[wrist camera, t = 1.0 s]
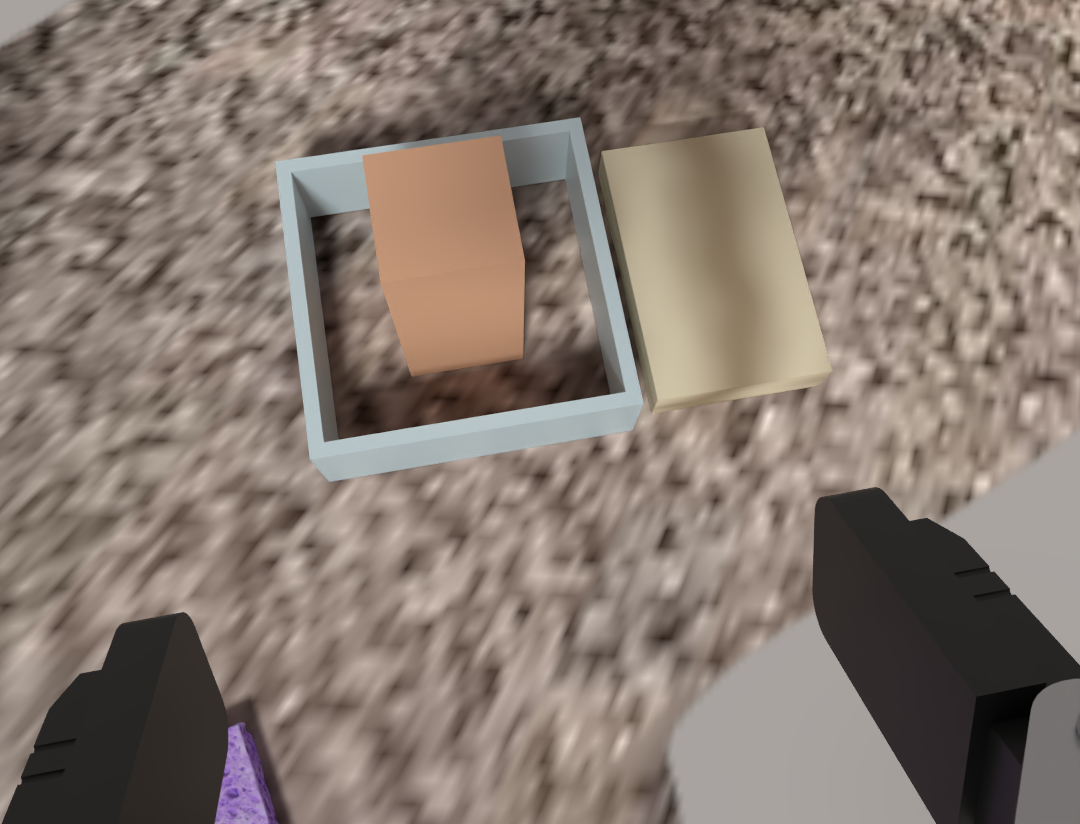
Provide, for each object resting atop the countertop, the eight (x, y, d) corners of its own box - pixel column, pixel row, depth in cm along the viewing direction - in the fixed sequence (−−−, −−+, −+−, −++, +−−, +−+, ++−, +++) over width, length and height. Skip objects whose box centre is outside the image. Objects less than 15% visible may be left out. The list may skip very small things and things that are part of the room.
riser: (651, 413, 42) (657, 400, 40) (598, 174, 45) (601, 151, 43) (818, 385, 42) (832, 371, 40) (753, 150, 46) (763, 127, 44)
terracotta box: (411, 376, 42) (380, 282, 33) (396, 274, 44) (362, 155, 34) (523, 358, 42) (524, 260, 33) (504, 257, 44) (500, 135, 34)
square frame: (329, 481, 41) (310, 459, 37) (296, 207, 44) (275, 161, 40) (631, 430, 42) (643, 403, 38) (575, 166, 45) (580, 117, 41)
